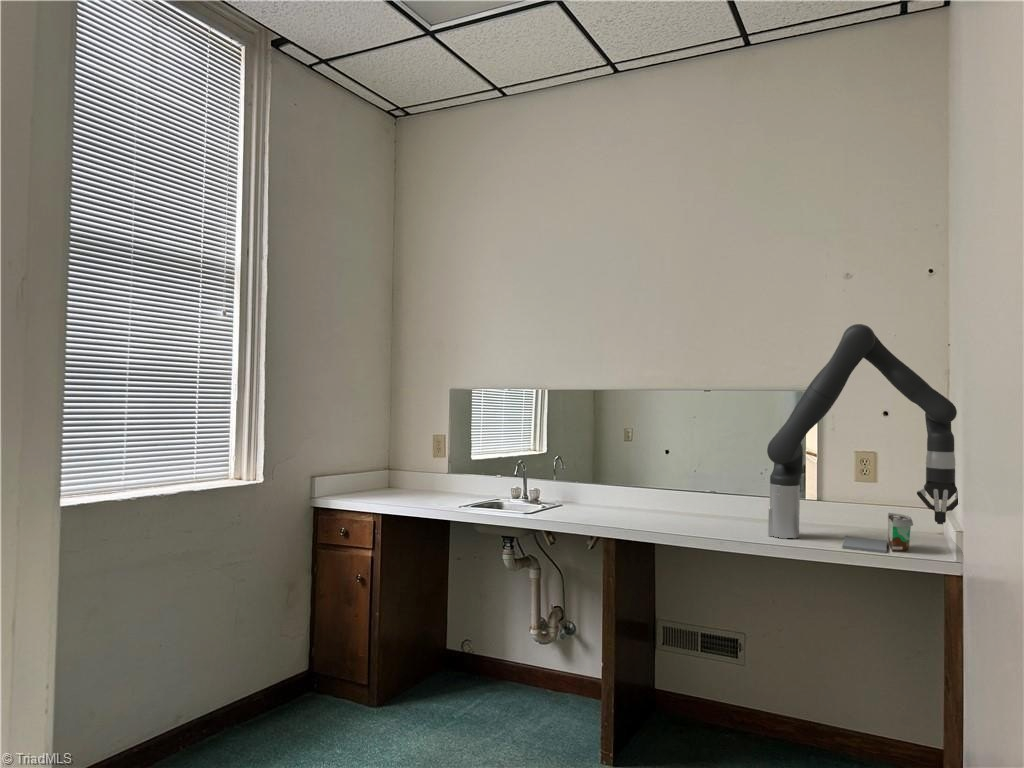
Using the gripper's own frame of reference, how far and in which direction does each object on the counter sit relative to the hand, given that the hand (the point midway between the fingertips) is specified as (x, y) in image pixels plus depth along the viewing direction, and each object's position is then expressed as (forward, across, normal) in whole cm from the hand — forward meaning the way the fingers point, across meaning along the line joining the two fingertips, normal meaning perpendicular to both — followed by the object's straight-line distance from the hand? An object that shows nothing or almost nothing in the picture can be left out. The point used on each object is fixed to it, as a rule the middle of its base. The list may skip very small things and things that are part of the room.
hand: (940, 523), depth 212 cm
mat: (+9, -20, 0) cm, 22 cm away
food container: (+9, -10, 0) cm, 14 cm away
